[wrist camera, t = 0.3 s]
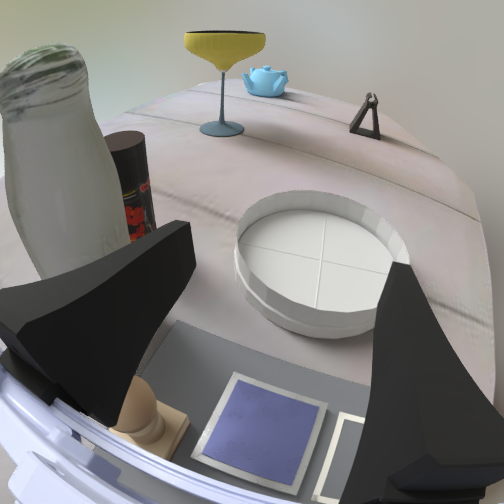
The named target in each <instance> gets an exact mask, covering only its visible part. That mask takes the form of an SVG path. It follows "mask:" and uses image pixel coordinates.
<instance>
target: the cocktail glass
mask: <svg viewBox="0 0 504 504" xmlns="http://www.w3.org/2000/svg"><path fill="white" fill-rule="evenodd" d="M184 44H185V47H186V48H187V50H189V51H190V52H191V53H193V54H195V55H197V56H199V57H201V58H203V59H205V60H207V61H209V62H211V63H213V64H214V65H215V66H216V68H217V69H218V70H219V71H220V72H222V87H221V109H220V118H219V121H213V122H208V123H205V124H203V125H202V126H201V127H200V131H201V132H202V133H204V134H206V135H210V136H217V137H226V136H233V135H237V134H239V133H241V132H242V131H243V127H242V126H241V125H240V124H238V123H235V122H229V121H225V120H224V76H225V72H227V71H228V70H229V69H230V68H231V67H232V66H233V65H234V64H235V63H237V62H239V61H241V60H243V59H246V58H248V57H251V56H253V55H255V54H257V53H258V52H260V51H261V50H262V49H263V48H264V46H265V34H264V33H258V32H247V31H194V32H186V33H185V37H184Z"/></svg>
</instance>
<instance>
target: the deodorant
mask: <svg viewBox="0 0 504 504" xmlns="http://www.w3.org/2000/svg"><path fill="white" fill-rule="evenodd" d="M104 139H105V142H106V144H107V147H108V149H109V151H110V153H111V156H112V158H113V161H114V163H115V166H116V169H117V173H118V177H119V181H120V185H121V190H122V197H123V203H124V208H125V214H126V220H127V226H128V232H129V236H130V240H131V243H132V242H133V241H135V240H137V239H139V238H141V237H143V236H144V235H146V234H148V233H150V232H152V231H154V230H156V229H157V228H156V222H155V215H154V209H153V202H152V195H151V187H150V180H149V172H148V164H147V155H146V145H145V135H144V134H143V133H141V132H139V131H121V132H116V133H113V134H110V135H107V136H105V137H104Z"/></svg>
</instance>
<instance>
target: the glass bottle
mask: <svg viewBox="0 0 504 504" xmlns="http://www.w3.org/2000/svg"><path fill="white" fill-rule="evenodd" d="M0 113H1V115H2V119H3V147H4V154H5V188H6V195H7V201H8V207H9V211H10V213H11V217H12V219H13V221H14V224H15V226H16V229H17V231H18V233H19V235H20V238H21V240H22V242H23V244H24V246H25V248H26V250H27V252H28V254H29V256H30V258H31V260H32V262H33V264H34V266H35V268H36V270H37V272H38V273H39V275H40V277H41V279H42V280H45V279H48V278H51V277H55V276H57V275H60V274H63V273H66V272H69V271H72V270H74V269H77V268H80V267H82V266H84V265H87V264H89V263H91V262H94V261H96V260H98V259H100V258H102V257H104V256H106V255H108V254H110V253H112V252H114V251H116V250H118V249H120V248H122V247H124V246H126V245H128V244H130V243H131V240H130V236H129V232H128V226H127V220H126V214H125V208H124V203H123V197H122V190H121V185H120V181H119V177H118V173H117V169H116V166H115V163H114V161H113V158H112V156H111V153H110V151H109V149H108V147H107V144H106V142H105V139H104V137H103V135H102V132H101V130H100V128H99V126H98V124H97V122H96V120H95V117H94V113H93V109H92V105H91V100H90V95H89V89H88V72H87V67H86V64H85V62H84V59H83V57H82V56H81V54H80V53H79V51H78V50H77V49H76V48H75V47H73V46H71V45H69V44H64V43H53V44H48V45H44V46H40V47H37V48H33V49H30V50H28V51H26V52H24V53H22V54H21V55H19V56H17V57H16V58H15V59H14V60H12V61H11V62H10V63H8V64H7V65H5V67H4V68H3V70H2V71H1V72H0Z"/></svg>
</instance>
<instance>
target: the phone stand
mask: <svg viewBox="0 0 504 504" xmlns="http://www.w3.org/2000/svg"><path fill="white" fill-rule="evenodd" d="M373 95H374V97H375V100H374V101H373V102H370V101H368V100H369V98H372V95H371V93H368V94H367V96H366V101H365V103H364V104H363V106H362V107H361V109H360V110H359V112H358V113H357V115H356V116H355V118H354V119H353V121H352V122H351V124H350V133H354V134H358V135H362V136H366V137H369V138H373V139H377V140H380V132H379V124H378V116H377V104H378V100H377V97H376V95H375V94H373ZM369 108H372V115H373V131H371V130H367V129H363V128H360V127H359V126H360V124H361V122H362V120H363V118H364V116H365V115H366V113H367V111H368V109H369Z"/></svg>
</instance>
